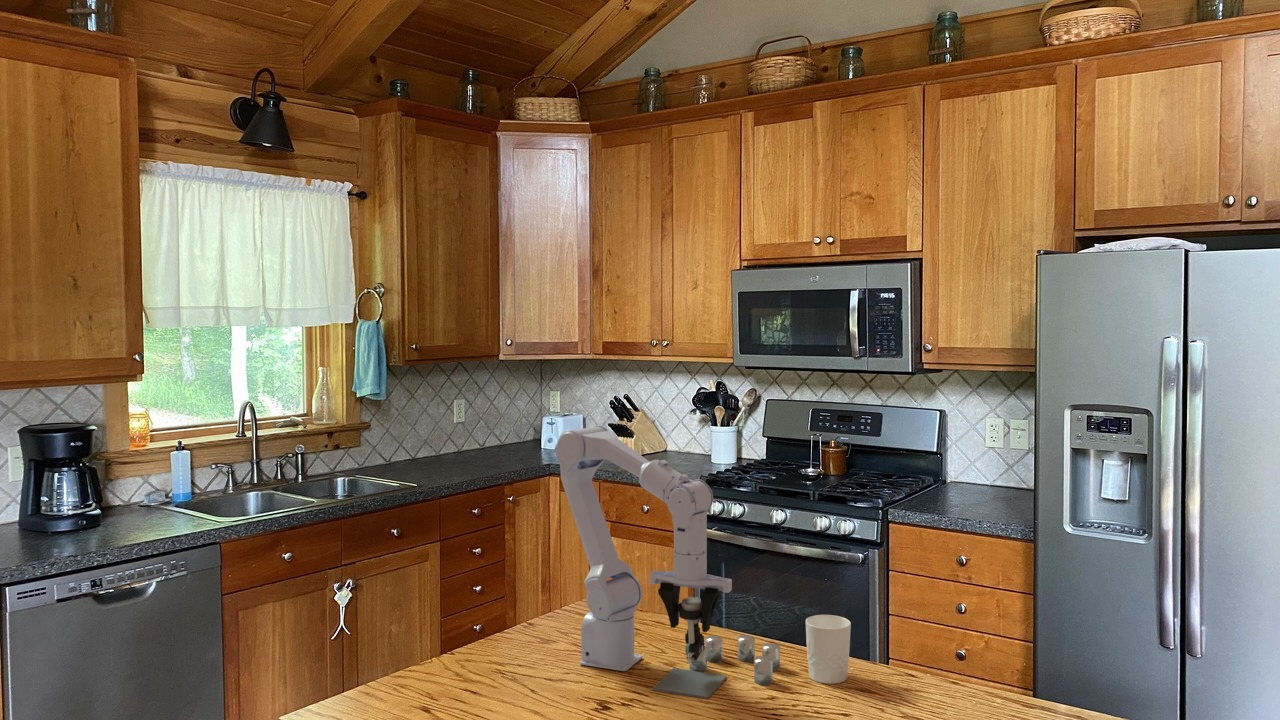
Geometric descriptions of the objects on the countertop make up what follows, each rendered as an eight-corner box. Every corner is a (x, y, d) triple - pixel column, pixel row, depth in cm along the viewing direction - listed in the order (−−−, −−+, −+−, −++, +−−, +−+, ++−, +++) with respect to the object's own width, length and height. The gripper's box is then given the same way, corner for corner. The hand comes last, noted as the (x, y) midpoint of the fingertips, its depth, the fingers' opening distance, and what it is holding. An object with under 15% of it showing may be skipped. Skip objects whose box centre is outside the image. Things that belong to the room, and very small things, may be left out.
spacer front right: (751, 683, 166) (751, 661, 166) (757, 677, 169) (757, 655, 169) (769, 686, 165) (769, 663, 165) (774, 679, 168) (774, 657, 168)
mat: (652, 690, 164) (652, 687, 164) (673, 670, 173) (673, 667, 173) (707, 699, 160) (707, 696, 160) (726, 678, 169) (726, 675, 169)
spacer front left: (686, 671, 172) (686, 649, 172) (692, 665, 175) (692, 644, 175) (703, 674, 171) (703, 652, 171) (709, 667, 174) (709, 646, 174)
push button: (703, 666, 163) (700, 611, 162) (674, 663, 165) (670, 609, 164) (713, 649, 170) (710, 595, 168) (684, 646, 171) (681, 593, 170)
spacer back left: (703, 661, 177) (703, 640, 177) (708, 655, 180) (708, 634, 180) (719, 663, 176) (719, 642, 176) (724, 657, 179) (724, 636, 179)
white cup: (796, 677, 169) (796, 622, 169) (820, 665, 175) (821, 611, 174) (835, 689, 164) (835, 632, 163) (858, 676, 170) (859, 621, 169)
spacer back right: (760, 669, 173) (760, 647, 173) (765, 663, 176) (765, 642, 176) (777, 672, 172) (777, 650, 172) (782, 665, 175) (782, 644, 175)
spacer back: (735, 660, 178) (735, 639, 177) (740, 655, 180) (740, 634, 180) (752, 663, 176) (751, 641, 176) (756, 657, 179) (756, 636, 179)
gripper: (737, 549, 166) (737, 626, 167) (659, 542, 172) (660, 616, 172) (724, 559, 160) (724, 639, 160) (644, 551, 165) (645, 628, 166)
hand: (690, 628), depth 166 cm, fingers closed on push button, 5 cm apart
